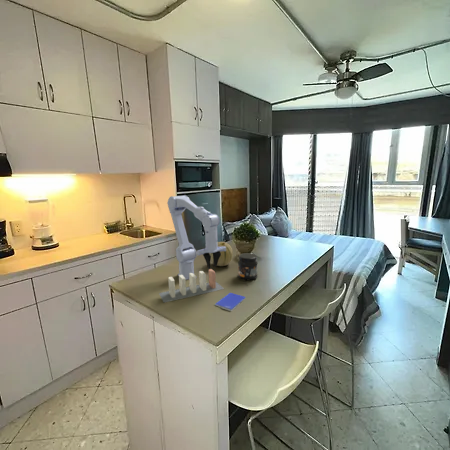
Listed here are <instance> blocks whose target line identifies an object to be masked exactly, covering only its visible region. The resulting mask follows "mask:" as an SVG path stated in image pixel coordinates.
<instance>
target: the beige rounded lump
mask: <svg viewBox="0 0 450 450" xmlns="http://www.w3.org/2000/svg"><path fill="white" fill-rule="evenodd" d="M217 242H218V247H226V251H221V252H220V253H221V256H220V258H219V260H218V263H217V267H224V266H225V267H226V266H227V265H229V264H230V263H231V262H232V260H233V256H234V250H233V248H232V246H231V245H230V244H229V243H227V242H225V241H217ZM209 254H210V256H211V260H210V262H212V264H213V253H209Z"/></svg>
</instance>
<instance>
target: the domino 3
mask: <svg viewBox="0 0 450 450" xmlns="http://www.w3.org/2000/svg"><path fill="white" fill-rule="evenodd" d="M196 277H197V275H195V273H194V274H193V273H189V279H188V281H189V287H190V290H191V291H192V292H193V293H197V292H196V285H197V278H196Z"/></svg>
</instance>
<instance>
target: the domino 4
mask: <svg viewBox="0 0 450 450" xmlns="http://www.w3.org/2000/svg"><path fill="white" fill-rule="evenodd" d="M198 281H199V284H198V285H200V288H201V289H202V290H203V291H206V283H207V274H206V273H205V272H204V271H203V270H199V271H198Z"/></svg>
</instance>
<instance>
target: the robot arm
mask: <svg viewBox="0 0 450 450" xmlns="http://www.w3.org/2000/svg"><path fill="white" fill-rule="evenodd" d="M166 204H167V207H168V211H169V213H170V216H171V219H172V223H173V227H174V231H175V235H176V239H177V242H178V246H177V247H176V249H175V253H176V260H177V261H178V272H179V273H177V276H178V277H179V275H183V276H184V277H185V279H186V281H187V280H188V281H189V273H193V274H194V275H195V268H194V265H195V264H194V263H195V262H194V261H196V260H195V259H196V258H197V256H201V255H202V256H203V258H204V260H205V263H206V266H207V269H211V256H210V254H209V253H213V263H212V264H213V267H214V268H217V267H218V266H217V263H218V260H219V258H220V256H221V253H220V252H221V251H226V247H218V242H219V241H218V226H219V225H220V220H221V219H220V216H219V215H218V214H217V213H211V211H208V210H207V209H205V207H204V206H198V205H196V204H195V203H194V202H193V201H192V200H191V199H190V197H188V195H186V194H184V195H175V196H173V195H171V196H169V197H168V200H167V203H166ZM186 209H187V210H189V211H190V212H192V213H193V216H194V217H195V218H196V219H198V220H199V221H200V222H201V223H202V225H203V230H204V237H205V238H204V239H205V240H204V242H205V248H202V249H198V250H196V248H195V247H194V244H193V243H191V242H190V241H189V237H188V235H187V230H186V227H185V223H184V219H183V212H185V210H186ZM196 279H197V276H196Z"/></svg>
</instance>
